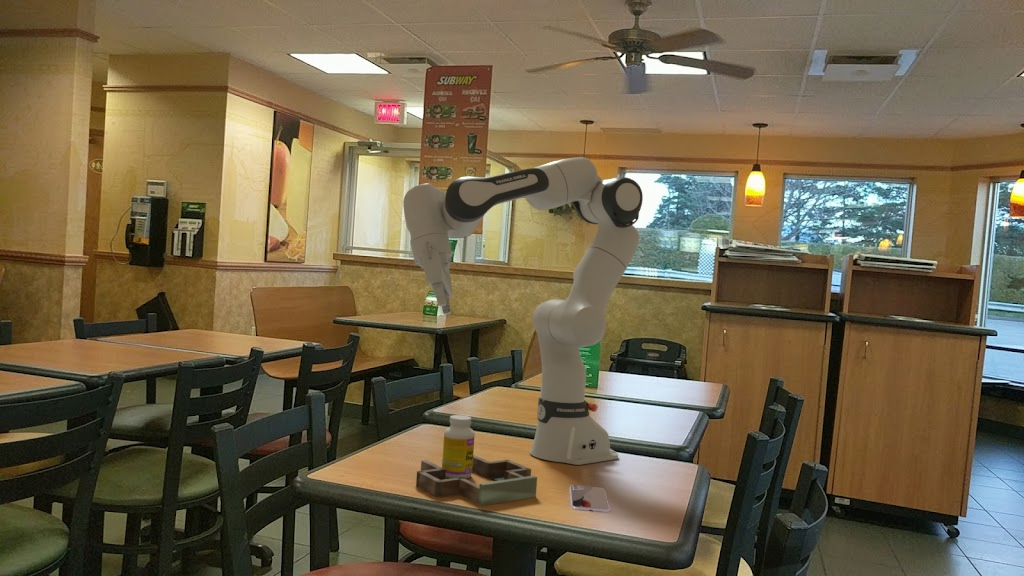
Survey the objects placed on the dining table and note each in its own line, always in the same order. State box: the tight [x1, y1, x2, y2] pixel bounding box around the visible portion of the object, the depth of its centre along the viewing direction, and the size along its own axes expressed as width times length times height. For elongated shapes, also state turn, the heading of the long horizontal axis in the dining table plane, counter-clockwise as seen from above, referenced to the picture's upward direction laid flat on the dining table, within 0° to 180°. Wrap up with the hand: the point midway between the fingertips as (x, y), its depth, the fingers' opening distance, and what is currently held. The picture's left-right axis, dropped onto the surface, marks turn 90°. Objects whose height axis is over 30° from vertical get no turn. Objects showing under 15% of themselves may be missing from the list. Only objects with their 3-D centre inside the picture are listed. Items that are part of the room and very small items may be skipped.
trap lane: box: [415, 454, 538, 507], centre depth 151 cm, size 23×23×4 cm
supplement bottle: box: [441, 414, 476, 479], centre depth 157 cm, size 7×7×13 cm
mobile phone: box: [569, 484, 611, 513], centre depth 147 cm, size 8×1×15 cm
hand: (445, 309), depth 162 cm, fingers open, 8 cm apart
